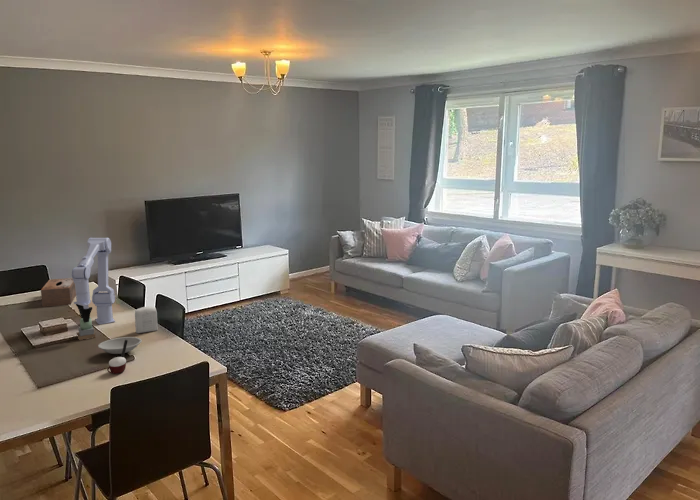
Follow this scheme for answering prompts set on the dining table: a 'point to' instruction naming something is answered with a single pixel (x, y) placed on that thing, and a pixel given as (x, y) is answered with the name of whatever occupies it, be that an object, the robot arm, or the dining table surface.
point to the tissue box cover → (58, 292)
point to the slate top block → (86, 331)
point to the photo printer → (146, 319)
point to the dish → (119, 345)
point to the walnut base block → (85, 336)
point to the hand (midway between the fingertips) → (85, 319)
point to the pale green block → (85, 324)
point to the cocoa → (118, 362)
